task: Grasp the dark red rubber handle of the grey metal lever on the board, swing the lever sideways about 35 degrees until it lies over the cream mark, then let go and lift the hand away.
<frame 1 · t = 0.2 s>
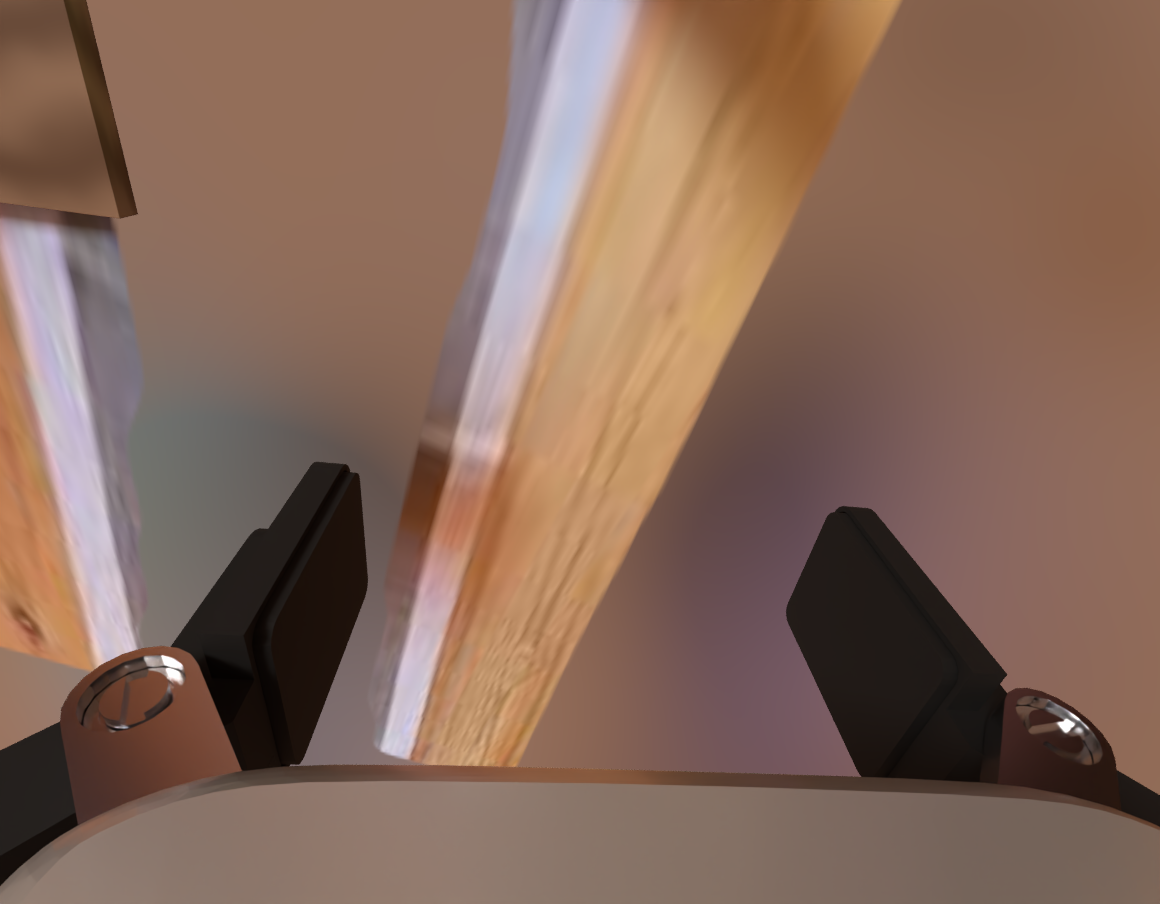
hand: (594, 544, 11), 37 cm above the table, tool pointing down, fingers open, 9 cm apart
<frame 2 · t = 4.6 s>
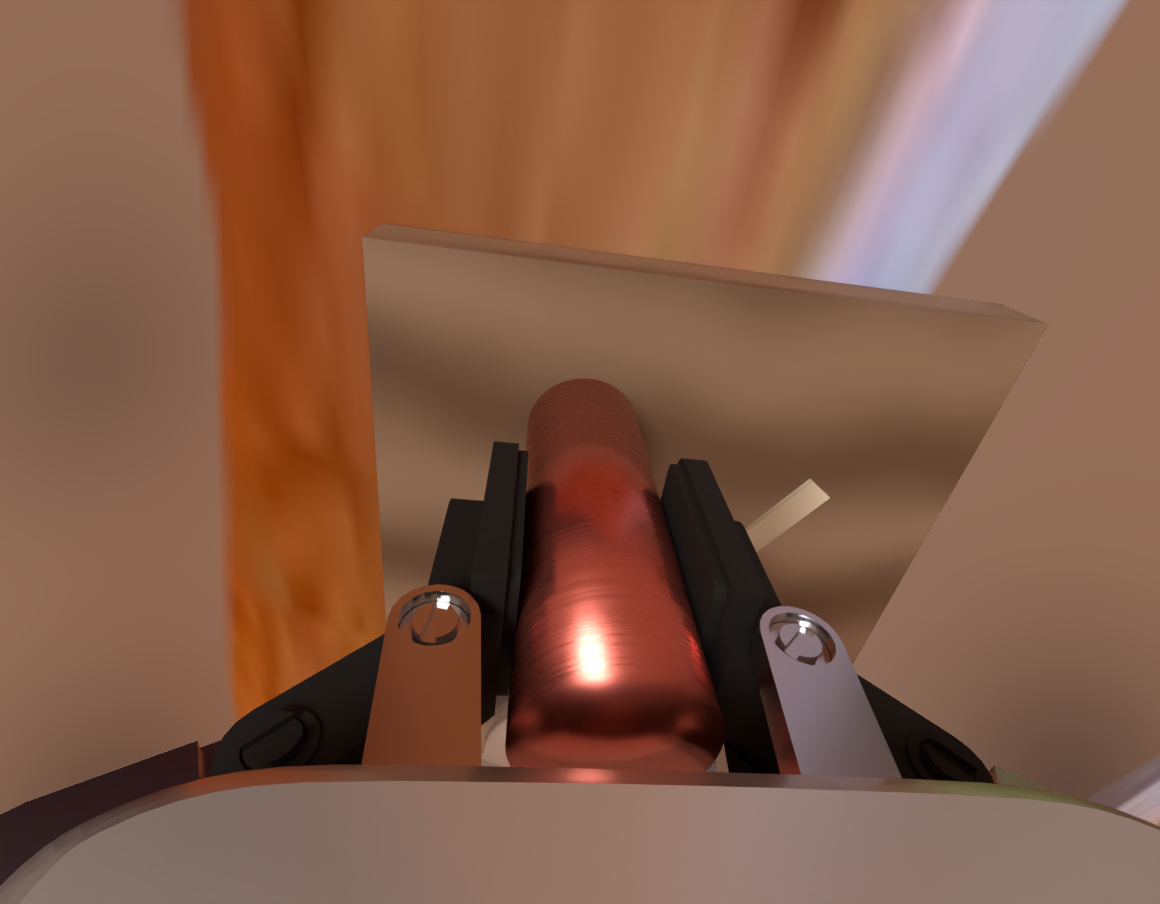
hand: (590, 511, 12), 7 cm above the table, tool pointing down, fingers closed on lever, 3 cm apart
lever board: (641, 548, 22), on the table
lever: (554, 725, 16), point 8 cm above the table, hinge at 0.0°, touching gripper
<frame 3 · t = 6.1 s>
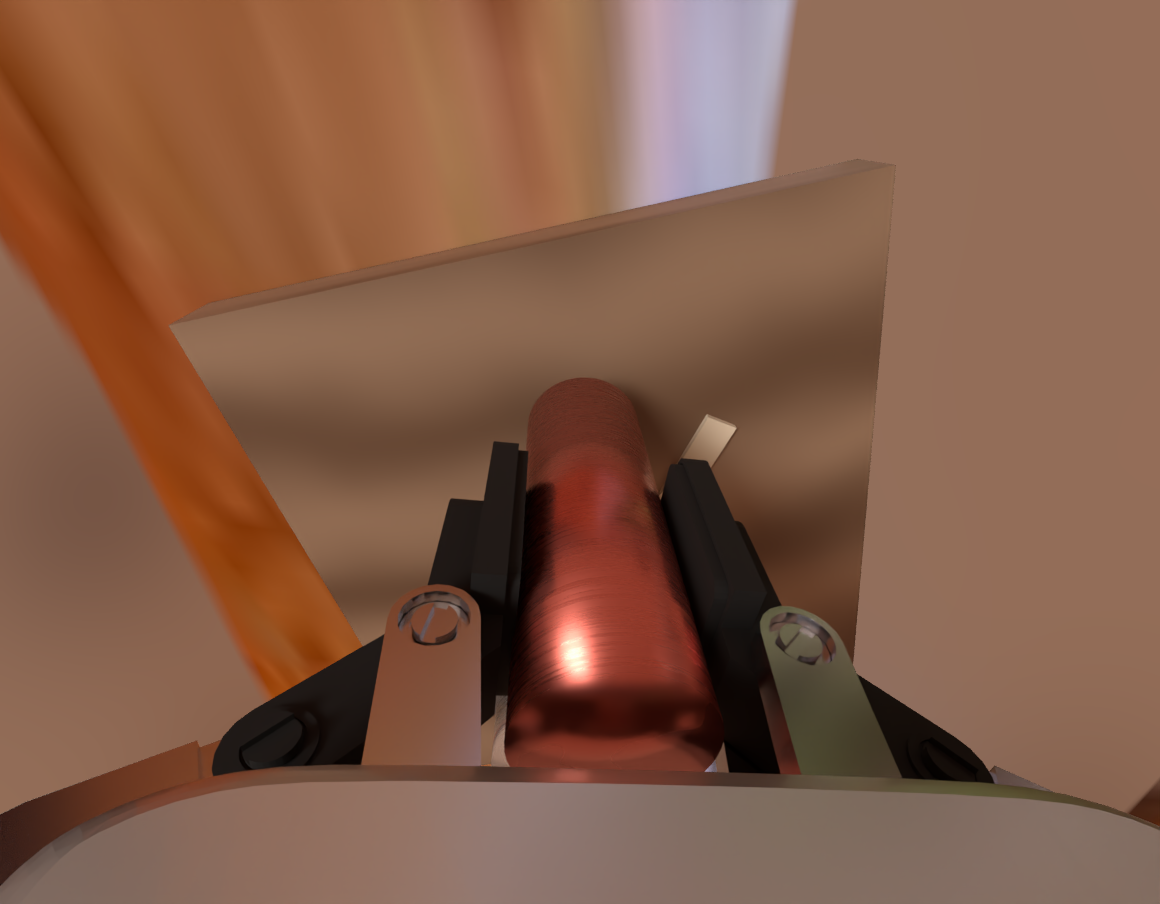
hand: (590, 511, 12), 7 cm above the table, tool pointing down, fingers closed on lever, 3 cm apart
lever board: (591, 528, 22), on the table
lever: (560, 724, 16), point 8 cm above the table, hinge at 17.6°, touching gripper
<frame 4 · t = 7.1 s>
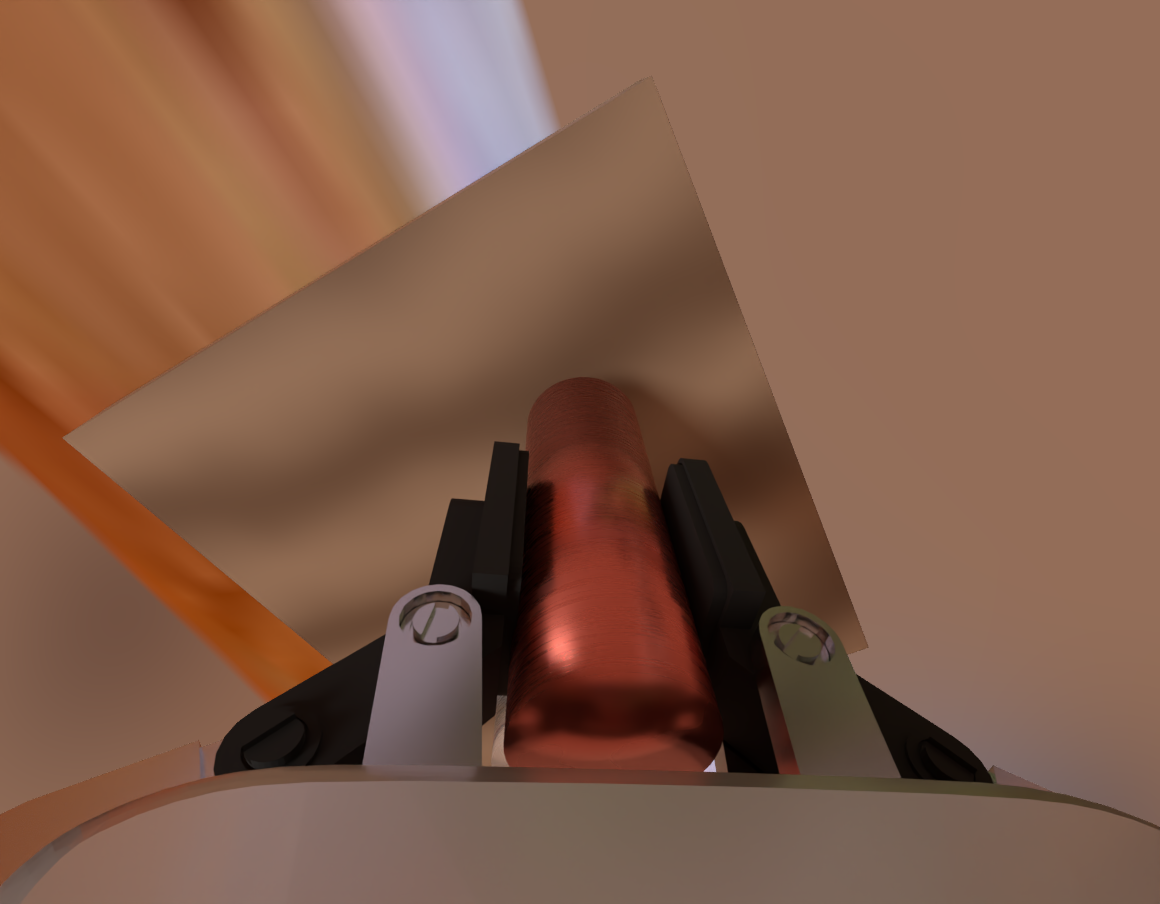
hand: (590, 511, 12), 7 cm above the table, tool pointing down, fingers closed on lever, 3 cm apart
lever board: (533, 524, 21), on the table
lever: (560, 724, 16), point 8 cm above the table, hinge at 34.0°, touching gripper
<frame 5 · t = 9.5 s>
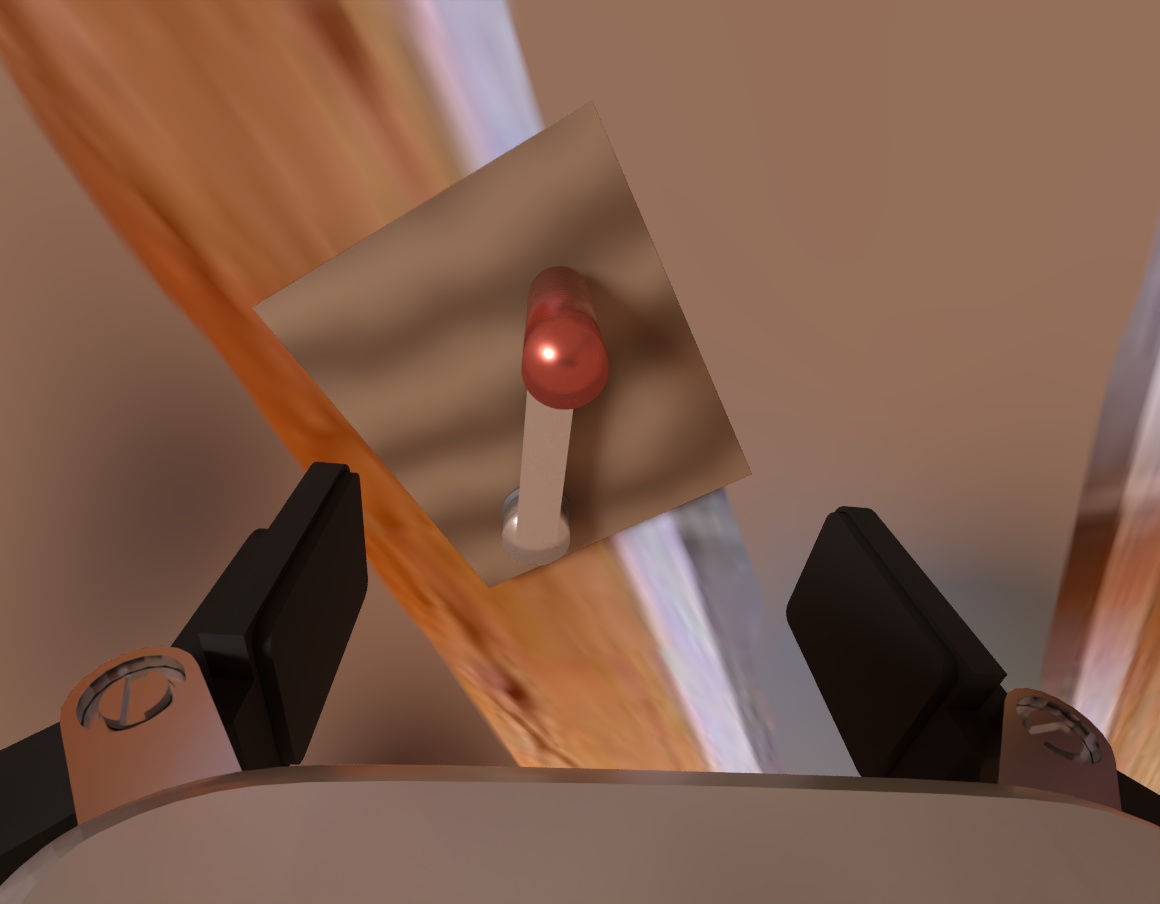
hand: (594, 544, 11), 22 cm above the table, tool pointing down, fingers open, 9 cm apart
lever board: (529, 385, 33), on the table
lever: (546, 469, 27), point 8 cm above the table, hinge at 34.2°
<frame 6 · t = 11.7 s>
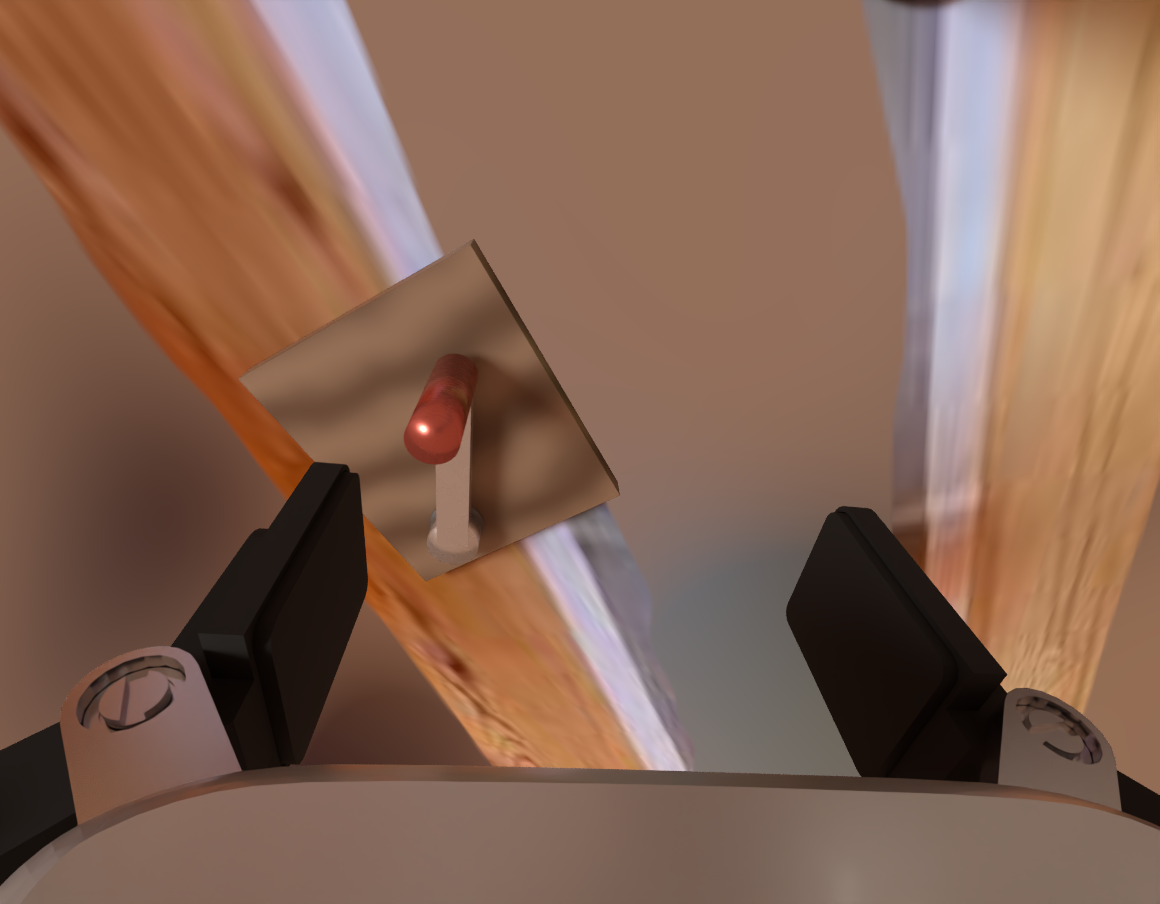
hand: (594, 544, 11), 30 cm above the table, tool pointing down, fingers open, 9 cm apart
lever board: (448, 428, 44), on the table
lever: (446, 496, 38), point 8 cm above the table, hinge at 34.2°
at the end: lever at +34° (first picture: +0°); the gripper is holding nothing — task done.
